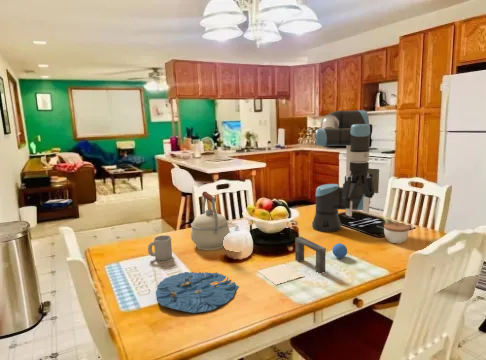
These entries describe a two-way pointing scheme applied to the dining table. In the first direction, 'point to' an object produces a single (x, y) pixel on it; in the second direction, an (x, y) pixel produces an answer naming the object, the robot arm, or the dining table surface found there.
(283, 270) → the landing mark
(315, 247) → the bridge
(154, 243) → the cup
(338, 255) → the ball
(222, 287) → the blue cloth
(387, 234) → the white lidded pot
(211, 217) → the kettle
